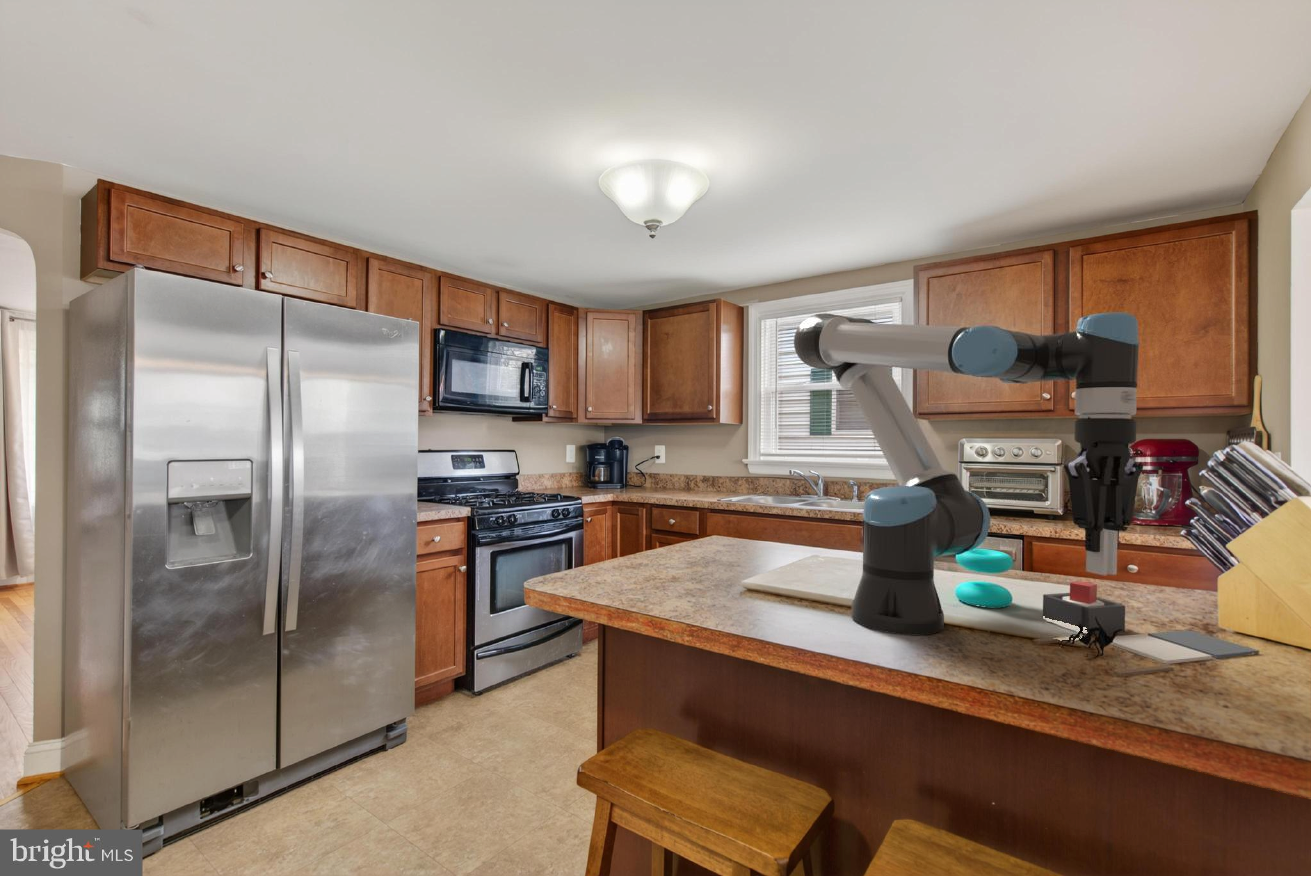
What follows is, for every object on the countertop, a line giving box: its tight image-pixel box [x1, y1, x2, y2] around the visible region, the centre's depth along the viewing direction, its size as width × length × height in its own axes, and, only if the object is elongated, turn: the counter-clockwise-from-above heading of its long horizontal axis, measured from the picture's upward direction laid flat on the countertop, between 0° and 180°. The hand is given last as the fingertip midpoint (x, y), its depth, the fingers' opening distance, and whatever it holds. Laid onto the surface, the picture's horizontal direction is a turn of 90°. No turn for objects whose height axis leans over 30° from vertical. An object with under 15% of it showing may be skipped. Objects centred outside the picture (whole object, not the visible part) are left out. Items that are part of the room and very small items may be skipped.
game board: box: [1032, 592, 1260, 677], centre depth 100 cm, size 30×23×4 cm
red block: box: [1062, 580, 1104, 607], centre depth 107 cm, size 6×6×6 cm
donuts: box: [954, 548, 1014, 608], centre depth 121 cm, size 10×10×10 cm
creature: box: [1058, 617, 1123, 661], centre depth 94 cm, size 8×5×8 cm
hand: (1101, 572), depth 93 cm, fingers closed
